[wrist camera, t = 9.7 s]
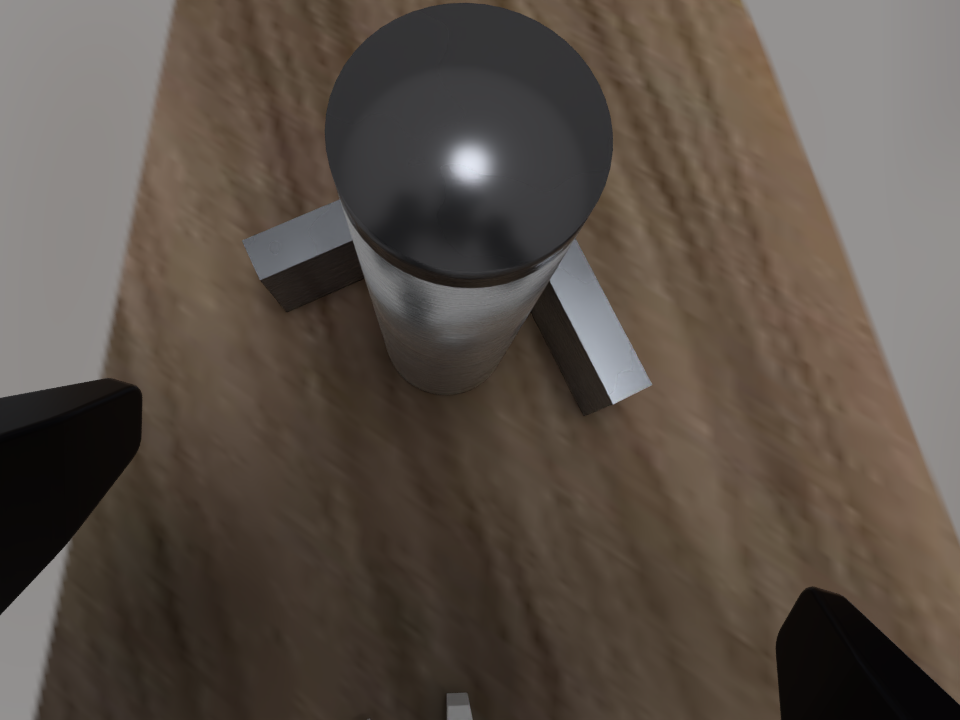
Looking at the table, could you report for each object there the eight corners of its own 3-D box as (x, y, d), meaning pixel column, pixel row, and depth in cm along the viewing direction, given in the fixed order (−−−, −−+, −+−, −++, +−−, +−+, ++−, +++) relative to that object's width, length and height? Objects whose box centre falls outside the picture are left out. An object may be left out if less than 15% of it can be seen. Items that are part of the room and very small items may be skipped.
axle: (386, 397, 21) (324, 272, 9) (384, 278, 22) (325, 1, 9) (507, 393, 22) (623, 268, 9) (502, 277, 22) (602, 5, 10)
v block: (609, 425, 22) (643, 414, 18) (261, 303, 22) (229, 269, 18) (671, 220, 23) (714, 175, 20) (344, 104, 23) (329, 38, 19)
